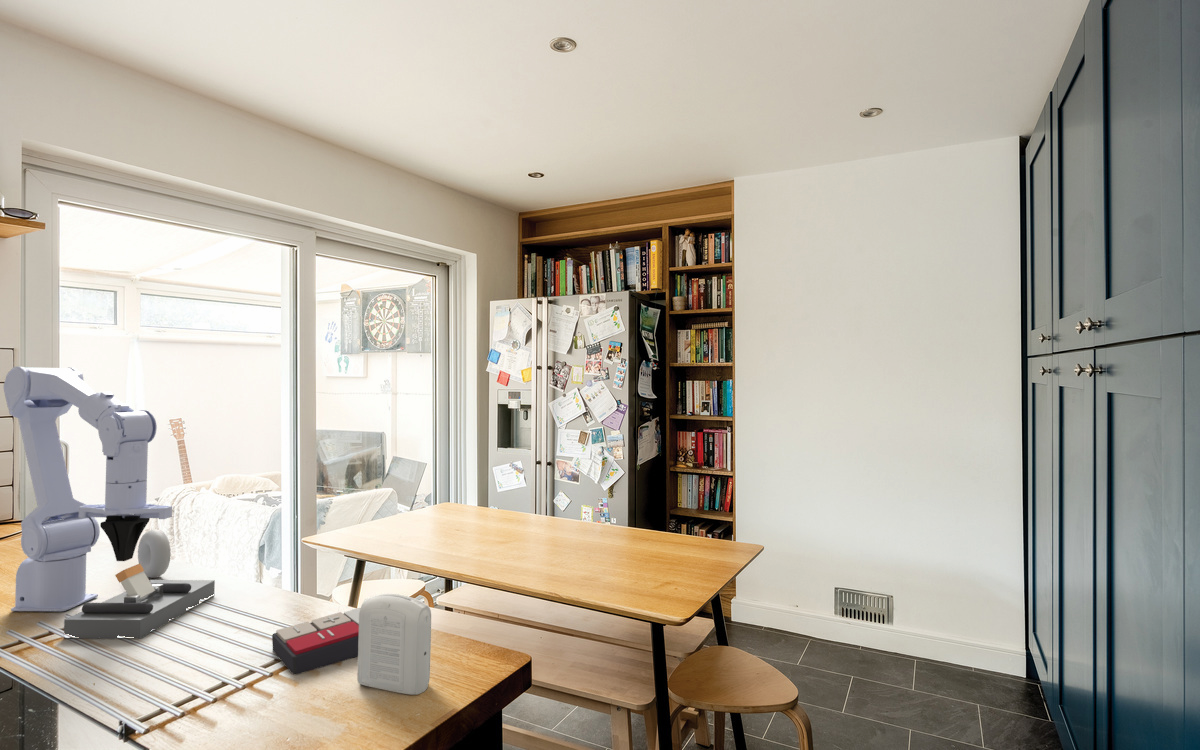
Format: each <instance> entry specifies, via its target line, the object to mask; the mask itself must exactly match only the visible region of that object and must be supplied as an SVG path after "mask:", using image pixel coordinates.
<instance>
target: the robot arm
mask: <svg viewBox="0 0 1200 750" xmlns="http://www.w3.org/2000/svg"><path fill="white" fill-rule="evenodd" d="M3 393H4V397H5V401H6V405H7V408H8V413H9V415H10V416H12V417H14V418H16V419H17V420H18V425H19V426H18V427H19V430H20V434H21V438H22V442H23V447H24V451H25V452H24V453H25V456H26V461H27V465H28V470H29V475H30V478H31V483H32V488H33V493H34V497H35V501H36V508H34V509H33V510H31V512H30V513H29V514H27V515H26V516H25V517H24V518H23V519H22V520H21V522H20V527H21V537H20V543H21V544H20V546H21V549H22V552H23V554H24V555H25V556H27V558H25V559H24V560H23V561H21V563H20V565H19V566H18V568H17V570H16V574H15V602H14V607H11V608H10V611H11V612H65V611H68V610H71V609H73V608H75V607H77V606H79V605H82V604H83V603H84V604H85V603H87V602H89V601H90V600H94V599H95V598H98V597H99V594H98V593H86V591H87V590H86V587H87V585H86V583H87V553H91V552H92V547H94V546H96V543H97V542H98V540H99V537H100V535H101V534H100V532H101V531H100V530H101V529H102V531H103V532H104V533H105V535H106V536H107V537H108V540H109V543H110V544H111V547H112V550H113V553H114V557H115V560H116V562H126V561H129V560H131V559H133V557H134V554H135V550H136V548H137V545H138V541H140V540H139V539H140V537H141V536H142V535H141V534H142V533H143V532H144V529H145V528H146V526H147V525H148V523H149V522H150V519H158V520H166V519H170V518H172V516H173V505H162V504H161V505H160V504H151V503H147V492H148V491H147V490H148V488H147V487H148V485H147V484H148V480H147V479H148V456H149V455H148V452H149V451H148V450H149V443H151V442H152V441H153V440H154V438H155V437H156V434H157V428H158V427H157V425H158V424H157V421H156V418H155V416H154V415H153V414H152V413H151V412H150V410H147V409H146V410H145V409H144V410H142V409H141V410H134V409H132V408H131V407H130V406H129V405H128V404H127V403H123V402H122V401H121V400H119V399H118V398H117V397H115V394H114V393H112V392H111V391H99V392H96V391H95V390H94V389H92V388H91V387H90V385H88V384H87V383H85V380H84V374H83V372H81V371H79V369H77V368H75V367H64V368H63V367H28V366H27V367H24V366H19V365H18V366H17V365H16V366H14V367H12V368H11V369H10V370H9V371H8V373H7V374H6V376H5V379H4V383H3ZM72 406H75V407H76V408H78V415H79V416H80V418H81V419H82V420H83V421H84V422H87V423H88V424H89V425H91V427H93V428H95V429H96V430H97V431H98V437H99V439H100V442H101V445H102V446H101V447H102V452H101V453H103V456H105V459H106V460H105V466H106V467H105V494H104V497H105V498H104V503H101V504H87V503H84V502H82V501H80V500H77V499H75V498H74V496H73V491H72V487H71V482H70V478H69V474H68V470H67V466H66V465H67V464H66V461H65V458H64V457H65V456H64V453H63V448H62V444H61V440H60V436H59V430H58V427H57V423H56V421H57V418H58V417H60V416H62V415H65V414H68V412H69V411H70V409H71V407H72ZM96 518H106V519H105V521H101V522H100V525H99V522H98V520H97V519H96ZM100 528H101V529H100Z"/></svg>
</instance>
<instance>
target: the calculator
mask: <svg viewBox="0 0 1200 750" xmlns="http://www.w3.org/2000/svg"><path fill="white" fill-rule="evenodd" d="M360 608H361V607H358V608H354V609H350V610H347V611H344V612H341V611H340V612H336V613H331V614H330V615H329V614H328V615H326V616H322V617H319V618H314V619H312V620H311V622H309V621H304V622H301V623H296V624H294V625H289V626H286V627H283V628H280V629H277V630H276V632H274V633H272V636H271V640H272V643H271V644H272V652H273V653H274V654H275V655H276V656H277V658H278V657H279V658H280V659H281V660H280V659H279V658H278V659H279V660H280V661H281V663H283V665H284V666H285V667H286V668H287V669H288V671H290V673H291V674H292V675H300V674H303V673H306V672H310V671H314V670H317V669H320V668H324V667H328V666H331V665H334V664H337V663H338V664H339V663H341V662H344V661H347V660H350V659H353V658H357V657H358V638H359V612H360Z"/></svg>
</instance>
